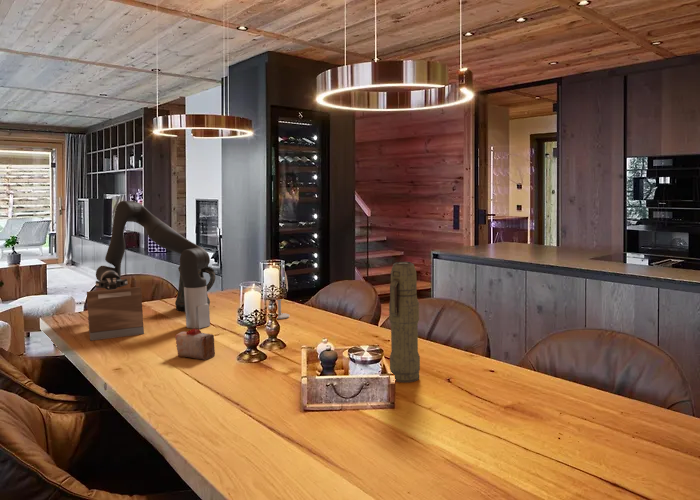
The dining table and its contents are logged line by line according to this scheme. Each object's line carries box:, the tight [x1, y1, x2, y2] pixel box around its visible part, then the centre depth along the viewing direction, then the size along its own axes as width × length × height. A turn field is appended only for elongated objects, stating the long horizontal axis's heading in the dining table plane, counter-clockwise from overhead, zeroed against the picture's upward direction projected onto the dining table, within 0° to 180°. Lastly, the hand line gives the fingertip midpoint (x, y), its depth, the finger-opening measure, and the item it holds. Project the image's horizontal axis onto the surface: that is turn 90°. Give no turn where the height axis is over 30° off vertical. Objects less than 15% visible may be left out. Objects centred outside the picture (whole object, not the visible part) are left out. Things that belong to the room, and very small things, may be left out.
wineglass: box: [276, 272, 291, 320], centre depth 259 cm, size 9×9×21 cm
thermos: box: [388, 261, 421, 383], centre depth 173 cm, size 9×12×35 cm
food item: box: [175, 328, 216, 361], centre depth 203 cm, size 14×8×10 cm, turn 63°
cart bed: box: [87, 317, 145, 341], centre depth 240 cm, size 18×20×6 cm
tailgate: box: [86, 286, 144, 333], centre depth 231 cm, size 2×20×16 cm, turn 115°
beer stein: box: [174, 265, 216, 313], centre depth 283 cm, size 16×19×25 cm
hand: (112, 286), depth 235 cm, fingers closed
